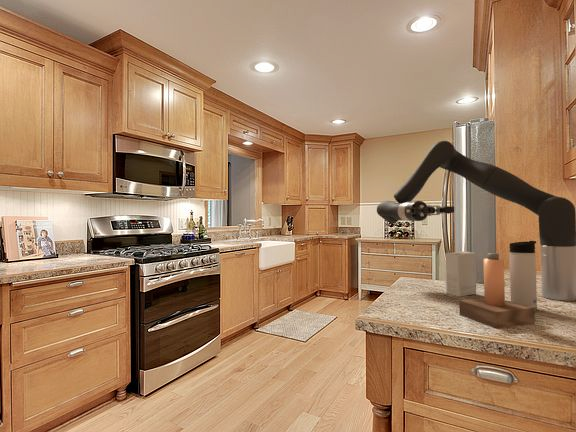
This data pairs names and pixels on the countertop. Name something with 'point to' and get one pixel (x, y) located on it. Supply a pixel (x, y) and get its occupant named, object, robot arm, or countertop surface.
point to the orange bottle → (494, 280)
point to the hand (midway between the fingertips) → (442, 209)
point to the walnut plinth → (497, 313)
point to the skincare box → (461, 273)
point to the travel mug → (523, 273)
